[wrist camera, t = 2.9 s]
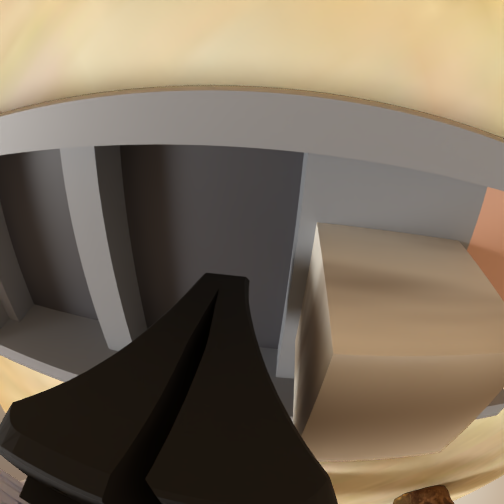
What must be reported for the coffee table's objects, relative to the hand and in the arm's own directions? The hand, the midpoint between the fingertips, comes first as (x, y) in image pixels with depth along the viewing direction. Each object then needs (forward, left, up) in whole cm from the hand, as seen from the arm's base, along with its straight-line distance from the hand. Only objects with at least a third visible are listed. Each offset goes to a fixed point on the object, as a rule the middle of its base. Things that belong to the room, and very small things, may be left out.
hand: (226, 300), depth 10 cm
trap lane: (0, 0, -3) cm, 3 cm away
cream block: (0, -5, -1) cm, 5 cm away
